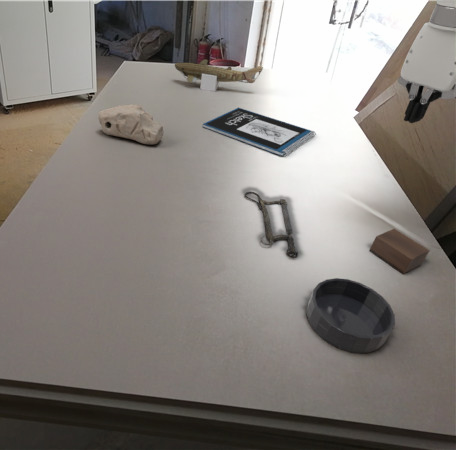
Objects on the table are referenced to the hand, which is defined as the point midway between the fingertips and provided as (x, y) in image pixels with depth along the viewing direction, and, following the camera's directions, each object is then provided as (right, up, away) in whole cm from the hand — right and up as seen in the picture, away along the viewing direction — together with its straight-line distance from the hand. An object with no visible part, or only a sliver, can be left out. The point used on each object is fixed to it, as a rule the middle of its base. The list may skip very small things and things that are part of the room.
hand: (411, 120), depth 80 cm
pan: (-18, -37, -10) cm, 43 cm away
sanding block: (-1, -28, +4) cm, 28 cm away
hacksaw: (-25, -20, +13) cm, 35 cm away
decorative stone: (-59, +6, +45) cm, 74 cm away
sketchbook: (-17, +10, +52) cm, 56 cm away
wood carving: (-27, +35, +84) cm, 95 cm away
